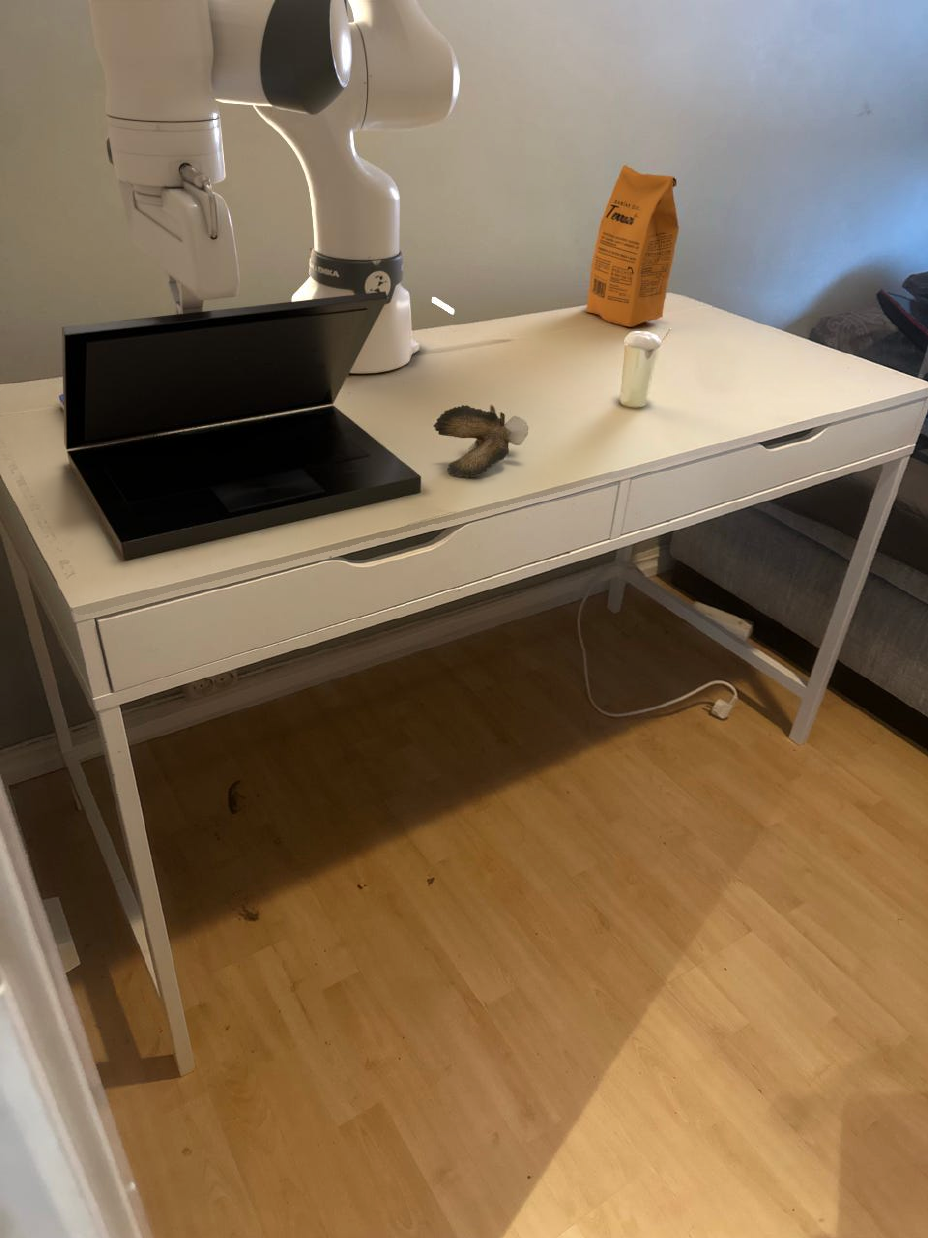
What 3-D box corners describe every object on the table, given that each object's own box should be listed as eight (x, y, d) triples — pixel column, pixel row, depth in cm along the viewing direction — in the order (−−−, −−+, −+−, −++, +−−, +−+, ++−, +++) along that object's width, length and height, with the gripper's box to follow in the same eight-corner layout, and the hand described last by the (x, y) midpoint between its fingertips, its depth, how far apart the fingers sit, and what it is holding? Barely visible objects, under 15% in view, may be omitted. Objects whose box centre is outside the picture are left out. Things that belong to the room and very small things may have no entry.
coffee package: (620, 303, 154) (641, 161, 142) (670, 323, 146) (697, 175, 133) (575, 309, 150) (593, 164, 137) (624, 330, 141) (648, 178, 129)
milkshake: (656, 412, 113) (670, 333, 108) (613, 407, 114) (626, 329, 108) (656, 399, 117) (671, 323, 111) (616, 394, 118) (628, 318, 112)
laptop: (420, 492, 92) (421, 475, 91) (124, 561, 78) (120, 542, 77) (333, 419, 106) (333, 404, 105) (70, 466, 93) (66, 450, 91)
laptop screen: (388, 298, 87) (385, 290, 87) (64, 336, 73) (61, 326, 73) (333, 405, 105) (330, 398, 105) (66, 450, 92) (64, 443, 92)
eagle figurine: (472, 428, 103) (419, 435, 97) (508, 386, 99) (455, 390, 92) (507, 480, 102) (456, 491, 95) (545, 440, 97) (494, 448, 91)
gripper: (250, 175, 68) (265, 354, 76) (170, 136, 82) (190, 291, 90) (168, 179, 65) (192, 364, 73) (99, 138, 79) (126, 297, 87)
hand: (190, 323), depth 82 cm, fingers closed
